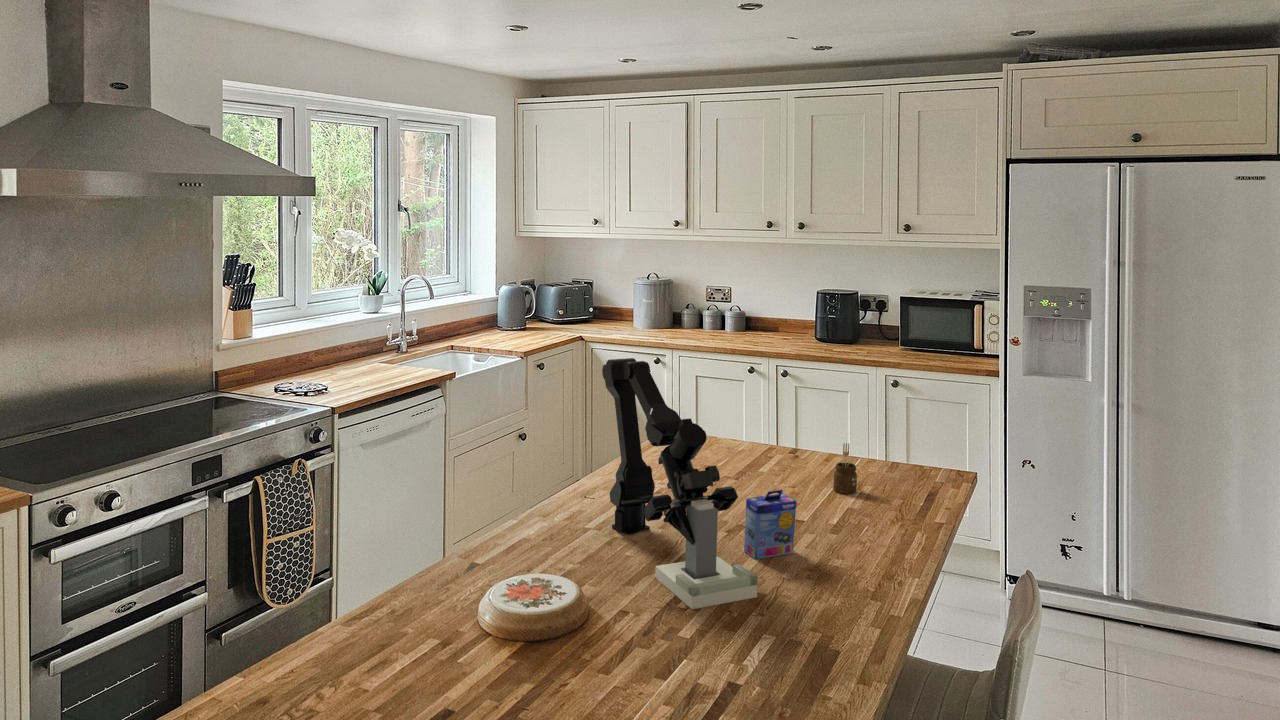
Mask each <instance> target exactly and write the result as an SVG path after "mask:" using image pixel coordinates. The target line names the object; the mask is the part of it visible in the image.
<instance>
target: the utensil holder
mask: <svg viewBox="0 0 1280 720" xmlns="http://www.w3.org/2000/svg"><path fill="white" fill-rule="evenodd" d="M851 455H852V454H850V443H847V442H846V443H845V442H844V443H843V444H842V456H841V458H840V462H838V463H836V465H835V471H834V474H833V491H834V492H835V493H838V494H840V495H841V494H842V495H852V494H854V493H856V491H857V485H858V474H857V472H856V471H857V465H856V464H854V463H851ZM843 457H844V462H843ZM847 457H849V462H847Z"/></svg>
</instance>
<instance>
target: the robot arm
mask: <svg viewBox="0 0 1280 720" xmlns="http://www.w3.org/2000/svg"><path fill="white" fill-rule="evenodd" d="M605 363H606V364H604V365H602V369H601V371H602V372H601V374H602V378H603V379H604V383H605V388H606V390H607V391H608V392H609V394H610V395H611V396H612V397H613V399H614V406H615V415H616V423H617V424H616V425H617V433H618V445H619V453H620V464H619V466H618V468H617V470H616V472H615V482H614V485H613V486H612V487H611V490H610V491H609V493H608V494H609V500H610V501H609V502H610V503H612V505H614V506H615V510H614V524H611V528H612V529H615V530H617V531H620V532H622V533H624V534H626V535H632V534H636V533H639V532H643V531H646V530H649V529H651V527H650V525H647V524H646V521H647V522H652V521H658V520H661V519H662V517H663V515H664V518H663V519H662V520H663V522H664V523H668V524H670V526H671V527H672V528H674V529H675V530H676V531H678V533H680V534H681V536H683V538H684V539H685V540H686V539H687V540H688V541H689V542H690V543H691V544H692V545H694V543H695V540H694V536H693V532H692V530H691V527H690V524H689V522H688V519H687V516H686V511H687V505H691V501H694V500H702V499H707V500H708V501H710V502H711V503H713V507H715V508H716V509H718V512H724V511H726V510H729V509H731V507H733V504H734V503H735V502H736V501H737V499H738V498H739V496H738V492H737V489H736V488H734V487H733V486H732V485H730V486H724V487H716V488H715V489H714V491H712V494H710V495H704V494H705V493H707V491H708V487H713V486H714V483H716V482H719V481H720V480H721V476H720V475H721V474H720V471H719V470H718V467H717V465H716V464H715V465H709V466H708V465H707V466H706V467H705V468H704V470H699V469H698V468H694V465H693V462H692V460H693V459H695V457H697V455H698V453H699V452H700V450H701V449H702V447H703V446H704V445H705V443H706V441H707V437H708V436H707V433H706V431H705V430H704V429H703V428H702V427H701V426H700V425H699V424H697V423H694V422H693V421H692V418H681V416H680V415H679V414H678V412H677V411H675V410H674V409H672V408H670V407H669V406H668V405H667V403H666V402H665V399H664V398H663V395H662V393H661V392H660V390H659V388H658V386H657V383H656V382H655V379H654V377H653V375H652V373H651V367H650V363H649V362H647V361H644V360H640V361H639V360H636V359H635V358H634V357H631V358H630V357H628V358H616V359H615V358H614V359H613V358H612V359H608V360H607V361H606V362H605ZM636 398H637V400H636ZM637 401H638V402H639V404H640V406H641V409H642V411H643V414H644V415H645V418H646V423H645V427H644V428H645V432H646V439H647V441H649V443H650V445H651V446H652V447H656V448H657V447H658V448H659V447H664V449H663V450H661V451H660V454H659V457H658V462H657V463H658V465H662V467H663V469H664V471H665V475H666V478H667V484H666V486H667V489H668V490H671V492H672V497H673V498H672V497H671V495H669V494H661V495H654V493H655V490H656V489H655V487H656V484H655V481H654V478H653V469H652V467H651V465H647V464H646V462H645V461H644V459H643V454H642V444H641V443H642V442H641V436H640V426H639V419H638V408H637Z"/></svg>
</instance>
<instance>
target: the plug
mask: <svg viewBox="0 0 1280 720" xmlns="http://www.w3.org/2000/svg"><path fill="white" fill-rule="evenodd" d="M718 515H719V511H718V509H716V508H715V507H713V503H711V502H710V501H708V500H707V499H702V500H694V501H691V505H687V508H686V516H687V519H688V522H689V524H690V527H691V530H692V532H693V536H694V540H695V543H694V545H692V544H691V543H690V542H689V541H688V540H687V539H686V538H685V555H684V557H685V560H684V561H685V573H686V574H688V575H689V576H690V577H691V578H693V579H700V578H706V577H712V576H716V556H717V549H718V547H717V545H718V518H719V517H718Z"/></svg>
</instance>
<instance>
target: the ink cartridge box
mask: <svg viewBox="0 0 1280 720" xmlns="http://www.w3.org/2000/svg"><path fill="white" fill-rule="evenodd" d="M796 509H797V500H795V499H794V498H792V497H791V496H789V495H787V494H786V493H783V489H778V490H770V491H767V493H766V494H765V496H763V495H760V496H755V497H748V498H746V501H745V525H744V541H743V542H744V545H743V551H744V552H745V553H746V554H748V555H749V556H750V557H751V558H753V559H754V560H761V559H767V558H773V557H780V556H781V557H782V556H787V555H792V554H793V553H794V543H795V541H794V539H795V527H796V526H795V525H796V523H795V522H796V514H797V510H796Z"/></svg>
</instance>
